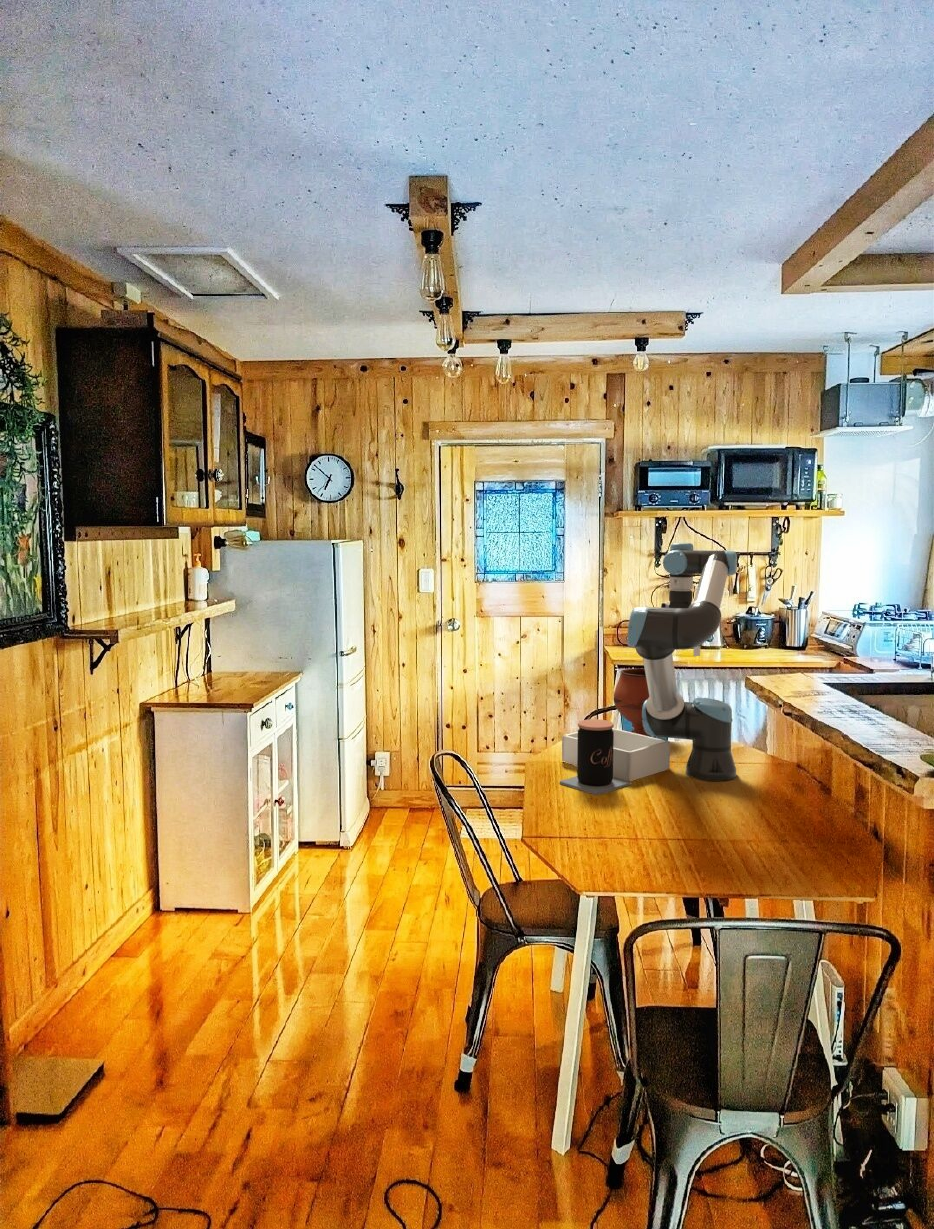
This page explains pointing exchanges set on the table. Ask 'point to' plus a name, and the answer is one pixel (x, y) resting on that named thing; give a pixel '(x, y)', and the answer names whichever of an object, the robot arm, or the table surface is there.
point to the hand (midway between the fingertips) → (679, 653)
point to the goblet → (632, 697)
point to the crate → (627, 754)
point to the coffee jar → (595, 752)
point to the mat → (595, 790)
